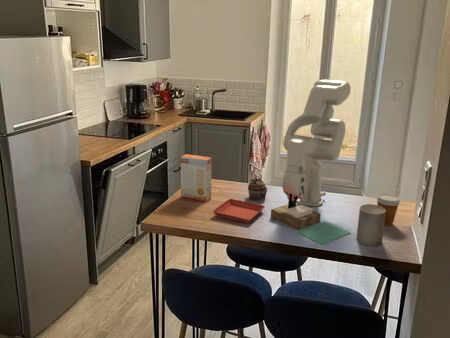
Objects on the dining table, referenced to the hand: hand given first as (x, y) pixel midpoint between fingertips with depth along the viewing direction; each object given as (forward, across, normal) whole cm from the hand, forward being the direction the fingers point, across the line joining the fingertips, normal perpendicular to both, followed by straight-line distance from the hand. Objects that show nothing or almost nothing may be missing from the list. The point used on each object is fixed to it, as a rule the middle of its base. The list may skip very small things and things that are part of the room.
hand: (291, 208), depth 189 cm
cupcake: (+5, +28, -5) cm, 29 cm away
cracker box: (+5, +44, +20) cm, 49 cm away
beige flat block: (+1, -5, 0) cm, 5 cm away
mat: (+5, -18, 0) cm, 18 cm away
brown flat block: (+5, -2, 0) cm, 5 cm away
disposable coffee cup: (+5, -27, -31) cm, 41 cm away
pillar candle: (+5, -33, -10) cm, 35 cm away
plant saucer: (+6, +17, +16) cm, 24 cm away
